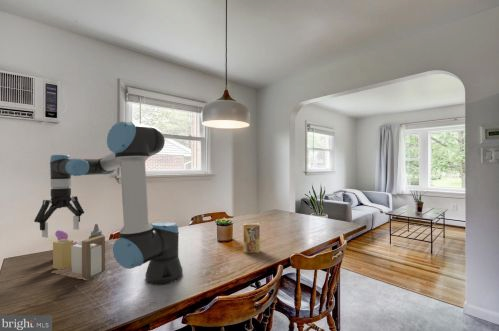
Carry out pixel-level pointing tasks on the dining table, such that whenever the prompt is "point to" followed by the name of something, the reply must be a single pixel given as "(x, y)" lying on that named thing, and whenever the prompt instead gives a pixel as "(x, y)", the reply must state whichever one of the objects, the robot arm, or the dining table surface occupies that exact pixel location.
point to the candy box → (251, 237)
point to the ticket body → (88, 257)
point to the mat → (98, 274)
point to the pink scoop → (62, 235)
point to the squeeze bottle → (96, 232)
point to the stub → (62, 254)
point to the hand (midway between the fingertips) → (61, 233)
